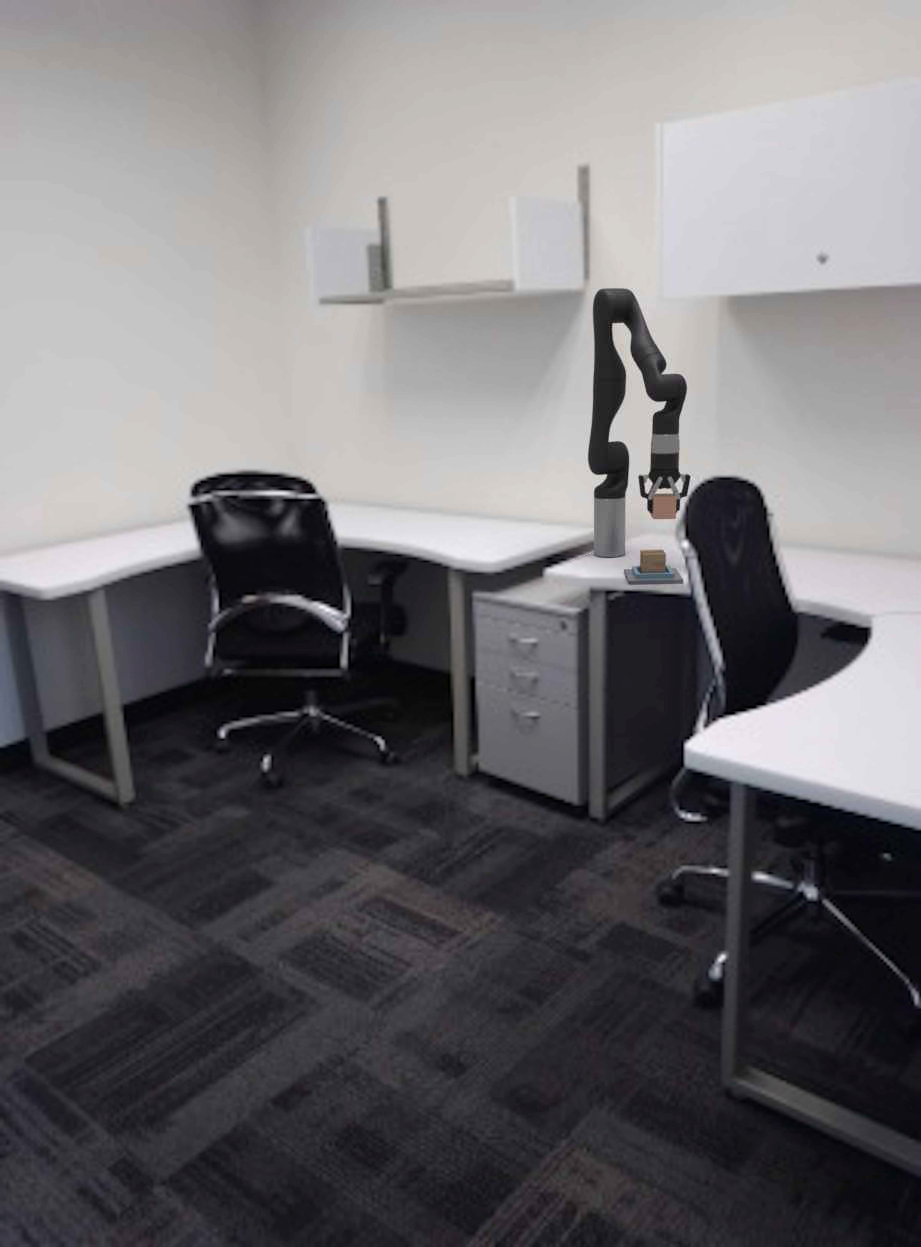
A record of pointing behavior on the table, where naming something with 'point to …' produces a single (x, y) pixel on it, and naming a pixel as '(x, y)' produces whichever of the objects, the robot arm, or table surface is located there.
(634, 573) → the baseplate
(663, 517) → the terracotta block
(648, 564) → the walnut block
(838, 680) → the table surface
